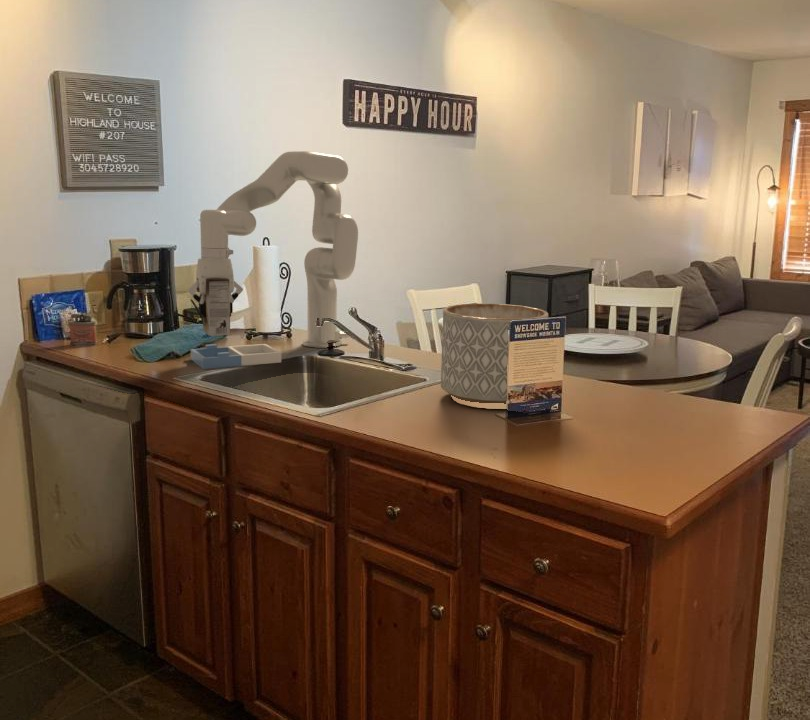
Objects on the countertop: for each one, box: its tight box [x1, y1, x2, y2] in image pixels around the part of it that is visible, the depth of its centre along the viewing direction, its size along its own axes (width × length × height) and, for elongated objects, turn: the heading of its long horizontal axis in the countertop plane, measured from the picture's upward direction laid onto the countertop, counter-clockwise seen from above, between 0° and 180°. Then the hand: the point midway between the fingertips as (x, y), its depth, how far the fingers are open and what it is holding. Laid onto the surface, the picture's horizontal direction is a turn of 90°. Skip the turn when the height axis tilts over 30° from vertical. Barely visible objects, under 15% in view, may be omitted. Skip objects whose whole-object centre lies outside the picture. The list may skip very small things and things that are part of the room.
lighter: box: [68, 312, 98, 347], centre depth 250 cm, size 8×3×10 cm, turn 94°
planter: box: [440, 303, 549, 404], centre depth 196 cm, size 26×26×22 cm
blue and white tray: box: [190, 343, 282, 370], centre depth 234 cm, size 23×14×4 cm, turn 119°
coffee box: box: [202, 278, 231, 337], centre depth 228 cm, size 9×6×16 cm
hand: (216, 316), depth 228 cm, fingers closed on coffee box, 6 cm apart
